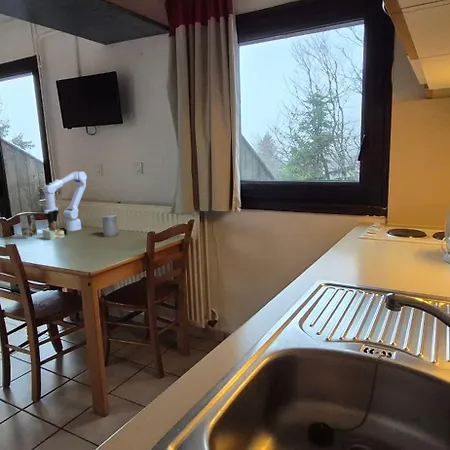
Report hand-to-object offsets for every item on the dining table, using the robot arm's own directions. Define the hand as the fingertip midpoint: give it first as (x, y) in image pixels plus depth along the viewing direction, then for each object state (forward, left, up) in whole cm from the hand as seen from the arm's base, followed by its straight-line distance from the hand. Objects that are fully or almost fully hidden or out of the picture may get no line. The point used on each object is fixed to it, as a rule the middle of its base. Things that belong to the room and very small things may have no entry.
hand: (52, 222), depth 282 cm
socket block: (+4, +12, -8) cm, 15 cm away
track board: (0, +12, -9) cm, 15 cm away
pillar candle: (-24, +34, -10) cm, 43 cm away
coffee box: (+13, -9, -10) cm, 19 cm away
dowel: (0, 0, -9) cm, 9 cm away
